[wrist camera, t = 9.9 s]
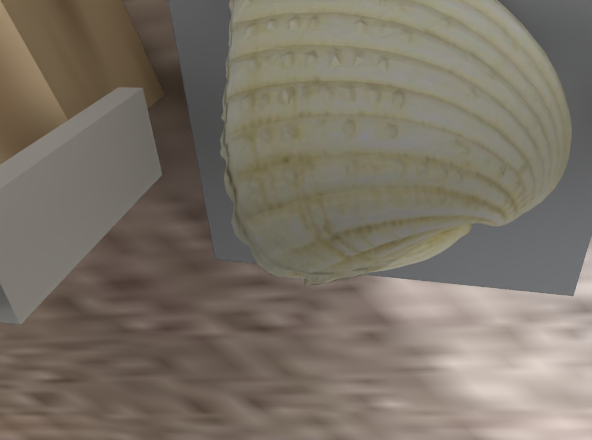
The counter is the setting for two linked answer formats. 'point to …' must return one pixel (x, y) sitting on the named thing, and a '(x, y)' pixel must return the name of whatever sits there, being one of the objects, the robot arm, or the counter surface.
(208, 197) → the plate
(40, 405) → the counter surface
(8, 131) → the oak block
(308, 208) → the seashell
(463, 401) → the counter surface
